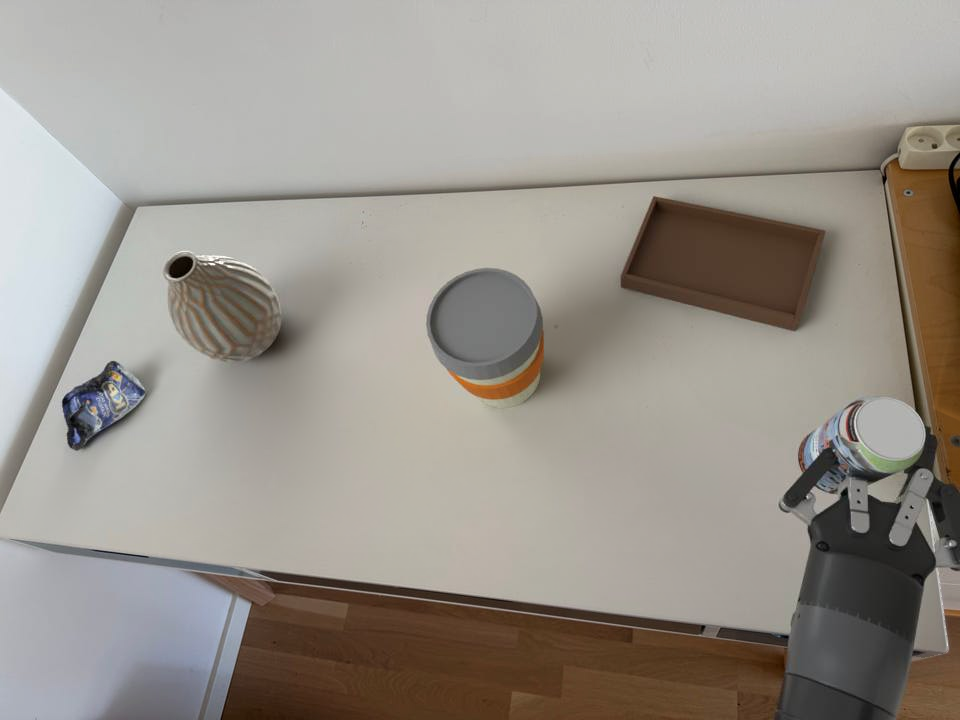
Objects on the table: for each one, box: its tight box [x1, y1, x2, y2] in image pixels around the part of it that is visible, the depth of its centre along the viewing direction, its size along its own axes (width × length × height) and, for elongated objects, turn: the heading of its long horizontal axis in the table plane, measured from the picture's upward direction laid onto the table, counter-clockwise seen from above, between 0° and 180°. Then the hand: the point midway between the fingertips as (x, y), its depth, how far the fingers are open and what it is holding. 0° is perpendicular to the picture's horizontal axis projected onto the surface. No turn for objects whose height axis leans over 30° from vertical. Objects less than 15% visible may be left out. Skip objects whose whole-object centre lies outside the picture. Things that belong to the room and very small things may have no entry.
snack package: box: [61, 360, 147, 452], centre depth 90 cm, size 12×6×12 cm
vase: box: [162, 250, 283, 363], centre depth 85 cm, size 13×13×18 cm
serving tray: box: [620, 195, 826, 332], centre depth 81 cm, size 21×13×3 cm, turn 65°
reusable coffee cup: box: [425, 267, 545, 409], centre depth 75 cm, size 13×13×15 cm
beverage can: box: [797, 395, 926, 496], centre depth 54 cm, size 6×7×12 cm
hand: (894, 422), depth 53 cm, fingers closed on beverage can, 3 cm apart
